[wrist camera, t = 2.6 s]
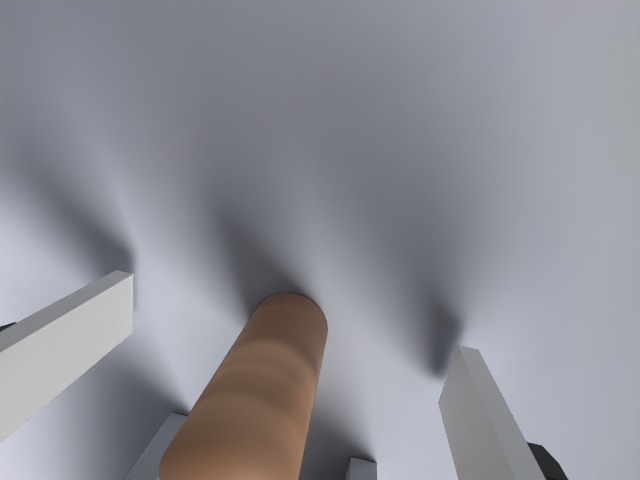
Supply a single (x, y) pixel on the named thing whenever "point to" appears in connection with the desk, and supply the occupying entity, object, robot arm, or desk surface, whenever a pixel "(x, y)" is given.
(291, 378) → the tethered block
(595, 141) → the desk surface
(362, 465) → the lane
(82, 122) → the desk surface
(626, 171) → the desk surface
